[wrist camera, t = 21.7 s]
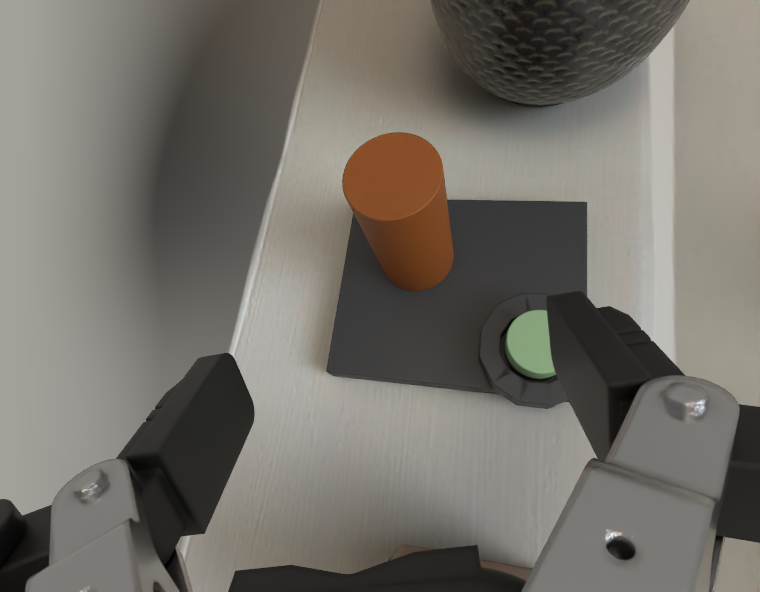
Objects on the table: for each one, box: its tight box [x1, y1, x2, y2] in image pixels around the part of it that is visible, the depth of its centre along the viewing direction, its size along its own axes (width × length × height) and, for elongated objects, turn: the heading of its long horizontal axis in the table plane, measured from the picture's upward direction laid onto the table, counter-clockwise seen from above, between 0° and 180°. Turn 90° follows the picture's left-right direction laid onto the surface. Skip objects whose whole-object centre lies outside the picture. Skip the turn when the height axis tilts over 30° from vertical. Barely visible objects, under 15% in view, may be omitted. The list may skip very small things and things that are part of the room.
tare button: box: [505, 310, 556, 379], centre depth 26 cm, size 4×4×2 cm
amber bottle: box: [342, 132, 454, 291], centre depth 27 cm, size 5×5×10 cm
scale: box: [326, 200, 587, 409], centre depth 30 cm, size 16×14×4 cm
